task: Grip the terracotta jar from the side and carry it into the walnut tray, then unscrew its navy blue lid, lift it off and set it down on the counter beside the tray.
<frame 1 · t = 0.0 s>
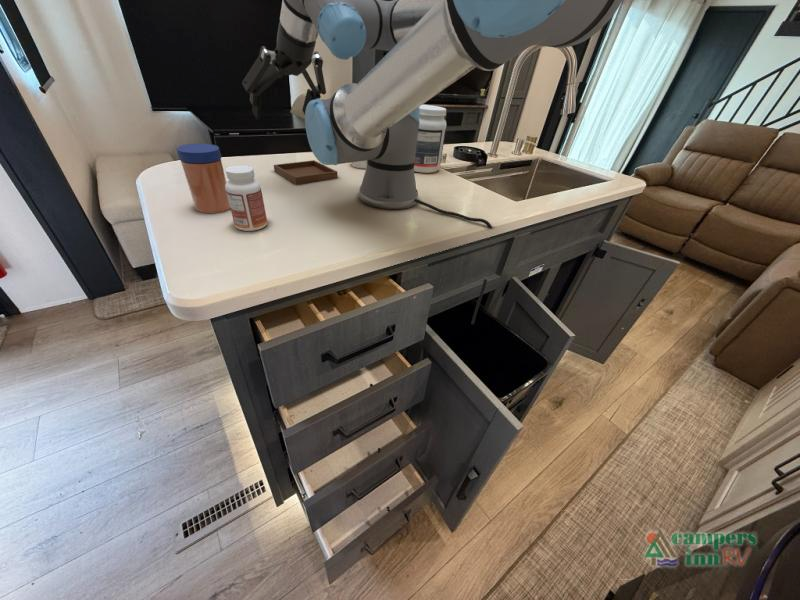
hand: (281, 114, 84), 15 cm above the table, tool tilted 35°, fingers open, 13 cm apart
jar: (214, 206, 71), on the table
white cup: (361, 166, 107), on the table
jar lid: (198, 150, 64), point 12 cm above the table, screwed on, not yet turned
tray: (306, 174, 94), on the table
pill bottle 2: (251, 226, 66), on the table
supplement tub: (420, 169, 110), on the table
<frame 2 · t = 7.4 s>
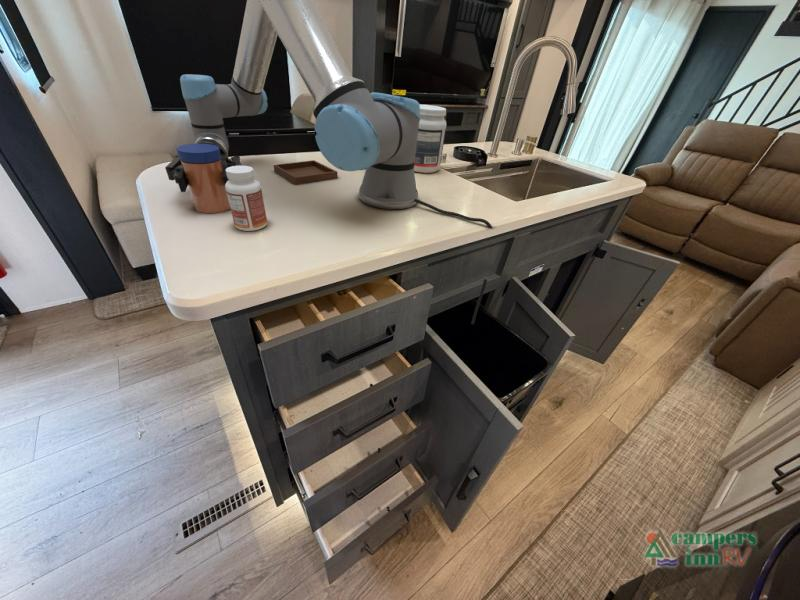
hand: (204, 184, 64), 6 cm above the table, tool horizontal, fingers closed on jar, 7 cm apart
jar: (214, 206, 71), on the table, touching gripper
everything else where it was.
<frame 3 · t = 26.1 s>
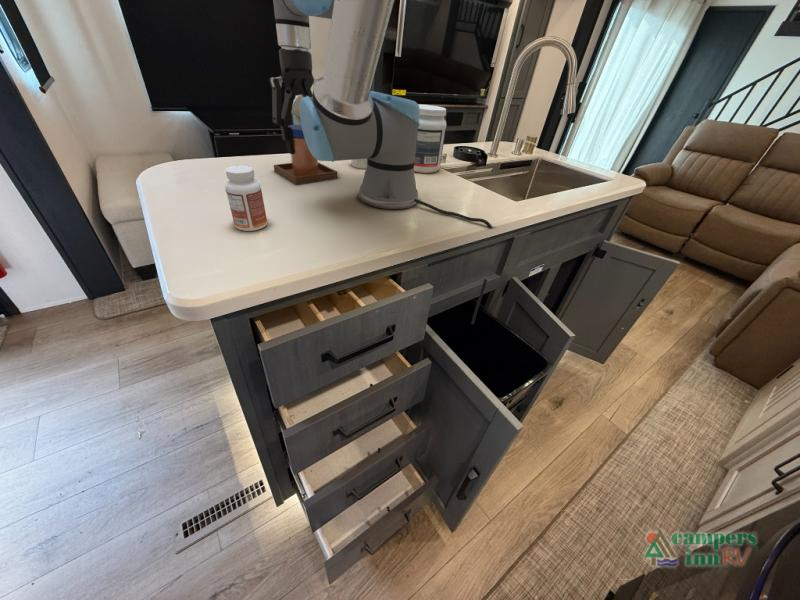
hand: (304, 151, 90), 6 cm above the table, tool pointing down, fingers closed on jar lid, 7 cm apart
jar: (305, 173, 94), resting on tray
jar lid: (301, 128, 87), point 12 cm above the table, screwed on, not yet turned, touching gripper
everything else where it was.
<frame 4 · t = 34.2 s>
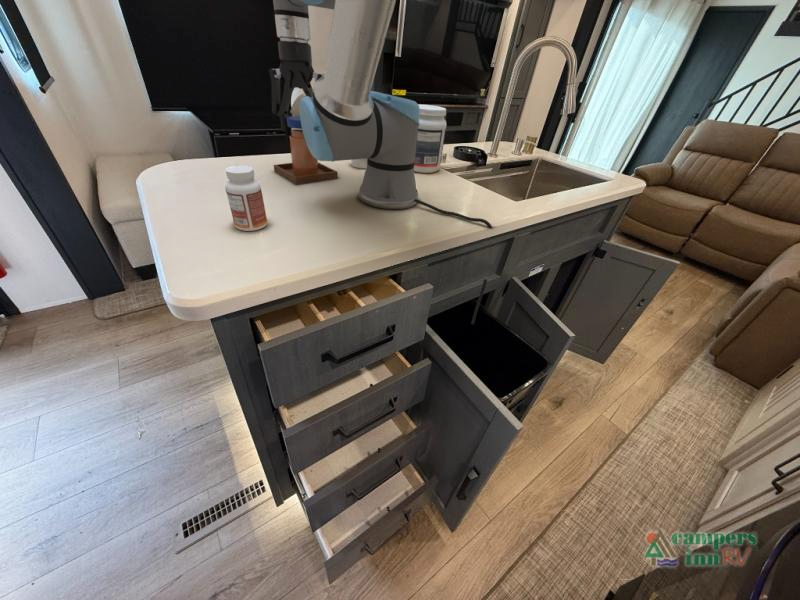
hand: (303, 146, 89), 8 cm above the table, tool pointing down, fingers closed on jar lid, 7 cm apart
jar lid: (301, 120, 86), point 14 cm above the table, off its thread, touching gripper
everything else where it was.
when the fingers open (1 cm above the table, at t = 40.7 s): jar lid drops 6 cm, point 1 cm above the table.
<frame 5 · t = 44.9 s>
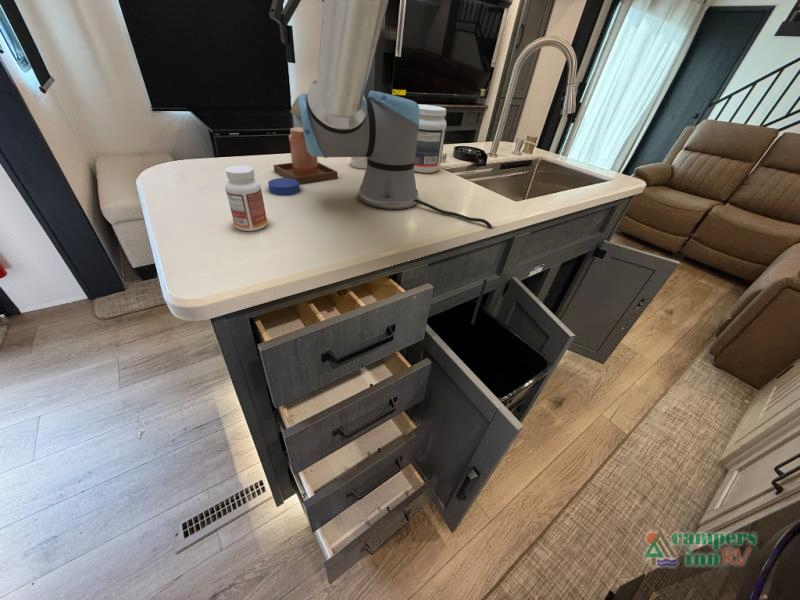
hand: (317, 64, 77), 27 cm above the table, tool pointing down, fingers open, 13 cm apart
jar lid: (283, 184, 82), point 1 cm above the table, off its thread
everything else where it was.
at the end: jar inside the target area in the tray (0.0 cm from its centre), point 0.4 cm above the tray's base; jar lid came off its thread; jar lid point 1.5 cm above the table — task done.
